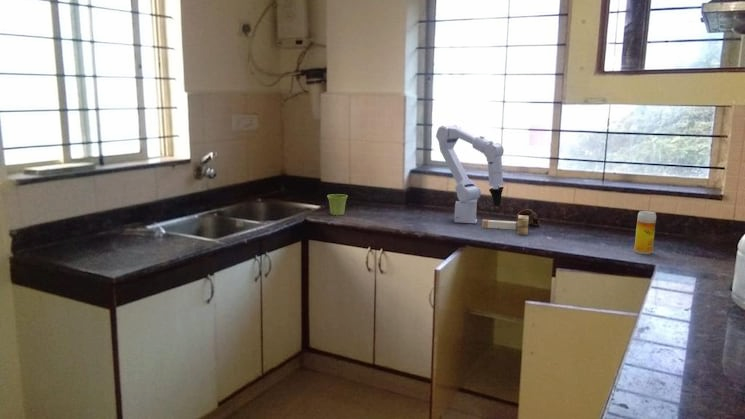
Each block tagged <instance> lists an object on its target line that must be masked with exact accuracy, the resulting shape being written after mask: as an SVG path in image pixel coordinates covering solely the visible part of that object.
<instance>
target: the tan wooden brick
mask: <svg viewBox="0 0 745 419" xmlns="http://www.w3.org/2000/svg"><path fill="white" fill-rule="evenodd" d="M528 220H529V218H528V216H525V215H518V229H517V230H516V231H517V232H516V233H517V235H527V236H528V234H529V233H528V230H529V223H528Z"/></svg>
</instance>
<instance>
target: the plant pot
mask: <svg viewBox="0 0 745 419" xmlns="http://www.w3.org/2000/svg"><path fill="white" fill-rule="evenodd" d="M326 197H327V200H328V204H329V211H330V215H332V216H335V215H336V216H338V215H339V216H344V215H345V208H346V202H347V200H348V199H347V198H348V197H349V196H348V195H347V194H343V193H342V194H341V193H336V194H335V193H334V194H333V193H332V194H328V195H327V196H326ZM343 214H344V215H343Z"/></svg>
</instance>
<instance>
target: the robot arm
mask: <svg viewBox="0 0 745 419" xmlns="http://www.w3.org/2000/svg"><path fill="white" fill-rule="evenodd" d="M435 137H436V139H437V141H438V146H439V150H440V153H441V156H442V157H443V158H444V161H445V163H446V165H447V166H448V169H449V171H450V172H451V174H452V176H453V179H454V180H455V182H456V185H455V188H454V189H455V191H456V196H457V199H458V200H456V201H455V205H454V214H453V217H454V223H460V224H461V223H464V224H465V223H466V224H477V222H478V219H477V204H478V203H477V202H478V199H479V198H480V197H481V195H482V194H481V189H480V187H479V186H478V185H476V183H475V182H474V180H471V178H469V177H468V175H467V172H466V171H465V168H464V167H463V165H462V162H461V161H460V159H459V157H458V155H457V153H456V151H455V150H454V147H455V146H456V144H457V142H458V140H459V139H460V140H463V141H464V142H466V143H469V144H471V145H472V148H473V149H475V150H476V151H478V152H480V153H482V154H483V155H484V157H485V159H486V162H487V171H488V172H487V173H488V186H489V187H491V188H489V190H488V191H489V193H490V194H491V198H492V201H493V205H494V207H500V206H501V203H502V194H503V191H504V185H507V183H506V182H504V178H503V161H502V156H503V154H504V147H503V145H502V144H500V143H499V142H498V143H497V142H496V143H494V141H492V140H488V139H486V138H485V136H483V135H478V136H474V135H473V134H471V133H470V132H468V131H466V130H464V129H463V128H462V127H461V126H458V125H440V127H438V129H437V131H436V134H435Z"/></svg>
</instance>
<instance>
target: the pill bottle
mask: <svg viewBox="0 0 745 419" xmlns="http://www.w3.org/2000/svg"><path fill="white" fill-rule="evenodd" d="M636 220H637V221H636V228H635V238H634V239H635V240H634V248H633V250H634V252H635V253H636V254H640V255H651V254H652V253H653V250H654V241H655V234H656V233H655V232H656V222H657V214H656V211H655V212H654V211H652V210H639V212H638V213H637V219H636Z"/></svg>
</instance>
